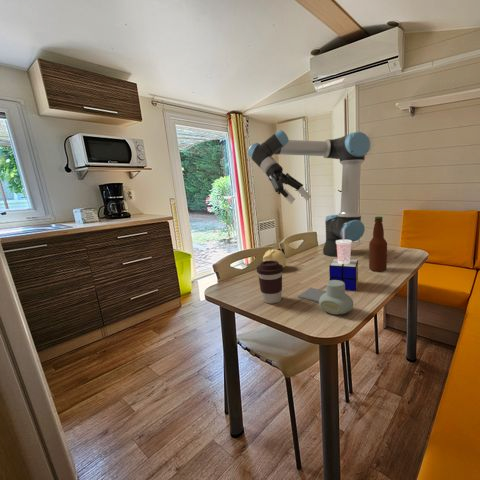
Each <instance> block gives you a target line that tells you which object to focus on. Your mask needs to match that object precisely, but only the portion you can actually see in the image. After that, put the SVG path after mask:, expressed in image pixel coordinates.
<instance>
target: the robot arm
mask: <svg viewBox="0 0 480 480" xmlns="http://www.w3.org/2000/svg"><path fill="white" fill-rule="evenodd" d="M370 149H371V140H370V138H369V136H368V135H367V134H366V133H364V132H362V131H355V132H350V133H348V134H346V135H344V136H340V137H338V138H333V139H331V138H330V139H326V140H323V141H322V140H303V139H302V140H301V139H298V140H297V139H289V137H288V135H287V134H286V132H285V131H284V130H282V129H279V130H277V131H276V132H274V133H273V134H272V135H271V136H269V138H267V139H266V140H265V141H263V142H262V143H261V144H260V143H259V142H255V143H252V144H251V145H250V146H249V148H248V150H247V154H248V156H249V158H250V159H251V160H252V162H254V163H255V164H256V165H257V166H258V168H259V169H260V170H262V173H264V174H265V175H266V176H267V178H268V180H269V181H270V183H271V185H272V187H273V190H274V191H275V193H277V195H282V196H283V197H284V198H285V199H286V201H288V202H289V204H293V202H295V200H296V198H295V197H294V196H293V195H292V194H291V193H290V192H289V191H288V190H287V189H286V188H284V185H288V186H290V187H291V188H293V189H294V190H295V189H296V190H297V193H298V194H300V195H301V197H303V199H305V201H309V199H311V198H312V196H311V195H310V193H308V192H307V190H306V189H305V188H304V187H303V186H304V184H303V183H301V182H300V181H299V180H297V179H295V178H294V177H293V176H291V175H290V174H289V173H287V172H286V173H284V172H283V171H284V169H283V167H282V166H281V165H280V164H279V163H278V162H277V160H276V159H275V158H274V157H272V156H273V155H283V156H284V155H285V156H289V155H290V156H310V157H311V156H313V157H323V158H324V159H334V160H339V163H340V164H341V165H342V168H341V169H342V170H341V171H342V172H341V173H342V174H341V195H340V196H341V198H340V212H339V213H337V214H332V215H331V214H330V215H326V217H325V220H324V221H325V223H324V224H325V242H324V246H323V249H322V250H323V251H322V254H323V255H325V256H329V257H338V256H337V244H336V240H342V239H343V229H344V239H346V240H351V241H352V243H354V242H357V241H359V239H361V238H362V237H363V236H364V234H365V231H366V229H365V225H364V223H363V222H362V215H361V214H360V212H359V205H360V189H361V188H360V187H361V185H360V184H361V173H362V172H361V170H362V164H363V163H364V162H365V159H366V154H367V153H368V152H370V151H369V150H370Z"/></svg>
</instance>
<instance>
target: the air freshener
mask: <svg viewBox="0 0 480 480" xmlns="http://www.w3.org/2000/svg"><path fill="white" fill-rule="evenodd" d="M325 285H326V286H325V288H326V289H325V291H326V293H324V294H323V295H322V296H321V297H320V299H319V303H318V305H319V306H320V308H321V309H322V310H323V311H324V312H327V313H329V314H331V315H344V314H347V313H348V312H350V311H351V310H352V309H353V307H354V300H353V299H352V297H351V296H350V295H349V294H347V293H346V290H345V283H344V282H342V281H339V280H330V279H329V280H328V281H326V283H325Z"/></svg>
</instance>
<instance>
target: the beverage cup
mask: <svg viewBox="0 0 480 480" xmlns="http://www.w3.org/2000/svg"><path fill="white" fill-rule="evenodd" d="M352 243H353V242H352V241H351V240H346V239H344V229H343V239H342V240H336V244H337V256H336V257H337V259H338V263H340V264H349V263H350V260H351V255H352V254H351V251H352V250H351V249H352Z"/></svg>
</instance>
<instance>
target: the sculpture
mask: <svg viewBox="0 0 480 480" xmlns="http://www.w3.org/2000/svg"><path fill="white" fill-rule="evenodd" d="M270 260H271V261H277V262H278V263H279V264H281V265H282V266H283V269H285V267H286V265H287V258H286V254H285V253H284V252H283V251H281V250H279V249H276V248H272V249H268V250H266V252H265V253H264V255H263V257H262V262H264V261H270Z"/></svg>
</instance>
